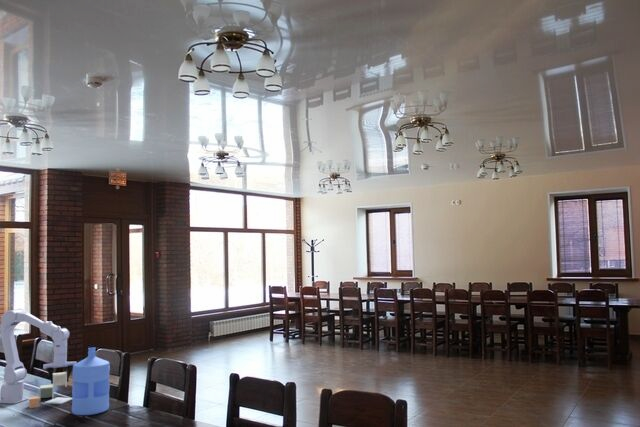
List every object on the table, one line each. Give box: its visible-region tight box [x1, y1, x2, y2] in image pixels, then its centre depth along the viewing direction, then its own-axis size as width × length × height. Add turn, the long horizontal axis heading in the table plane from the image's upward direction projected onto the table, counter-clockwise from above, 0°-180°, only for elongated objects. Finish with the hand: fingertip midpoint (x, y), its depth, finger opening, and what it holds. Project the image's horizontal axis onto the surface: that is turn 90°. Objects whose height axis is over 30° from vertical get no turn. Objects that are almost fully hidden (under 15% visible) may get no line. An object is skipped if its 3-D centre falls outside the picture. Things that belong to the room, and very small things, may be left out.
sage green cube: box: [38, 384, 55, 402], centre depth 260 cm, size 6×6×6 cm
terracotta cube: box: [28, 396, 40, 409], centre depth 246 cm, size 4×4×4 cm
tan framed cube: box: [52, 371, 68, 390], centre depth 256 cm, size 6×6×6 cm
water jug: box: [70, 346, 111, 416], centre depth 239 cm, size 16×16×28 cm
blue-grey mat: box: [44, 396, 72, 405], centre depth 255 cm, size 9×9×1 cm
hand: (59, 382), depth 256 cm, fingers closed on tan framed cube, 6 cm apart
